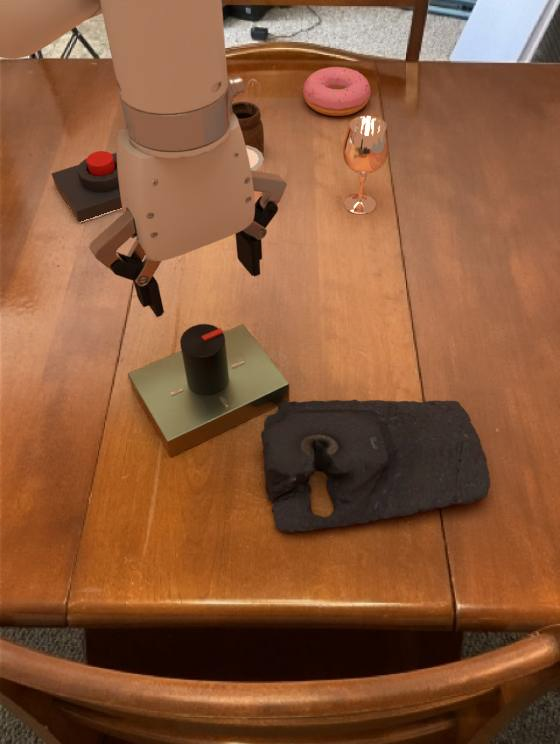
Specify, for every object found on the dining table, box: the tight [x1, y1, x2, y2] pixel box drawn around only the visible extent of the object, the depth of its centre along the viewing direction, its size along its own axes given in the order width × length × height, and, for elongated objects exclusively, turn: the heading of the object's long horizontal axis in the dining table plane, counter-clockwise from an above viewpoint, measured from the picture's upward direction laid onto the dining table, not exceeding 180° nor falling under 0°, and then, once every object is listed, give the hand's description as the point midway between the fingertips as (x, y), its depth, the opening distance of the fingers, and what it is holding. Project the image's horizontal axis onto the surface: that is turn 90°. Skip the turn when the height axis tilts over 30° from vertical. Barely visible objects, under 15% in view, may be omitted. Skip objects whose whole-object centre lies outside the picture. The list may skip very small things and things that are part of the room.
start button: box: [85, 150, 115, 176], centre depth 93 cm, size 4×4×2 cm
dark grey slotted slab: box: [260, 399, 491, 534], centre depth 66 cm, size 15×22×5 cm
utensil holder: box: [232, 78, 265, 155], centre depth 98 cm, size 6×6×12 cm
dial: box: [179, 323, 229, 395], centre depth 69 cm, size 4×4×6 cm
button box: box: [51, 152, 122, 223], centre depth 95 cm, size 12×10×4 cm
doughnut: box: [301, 66, 372, 117], centre depth 110 cm, size 11×11×4 cm
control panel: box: [127, 323, 290, 458], centre depth 72 cm, size 14×10×3 cm
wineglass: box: [342, 115, 389, 215], centre depth 90 cm, size 6×6×12 cm
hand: (202, 286), depth 62 cm, fingers open, 9 cm apart
